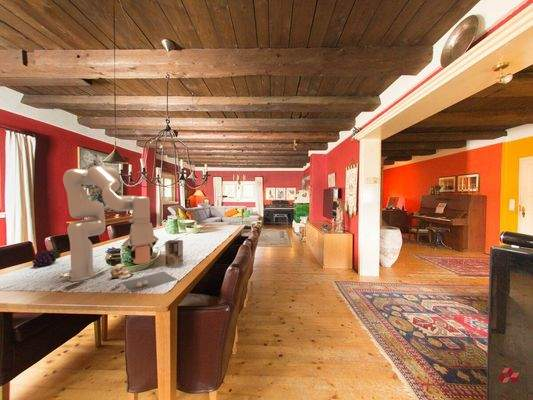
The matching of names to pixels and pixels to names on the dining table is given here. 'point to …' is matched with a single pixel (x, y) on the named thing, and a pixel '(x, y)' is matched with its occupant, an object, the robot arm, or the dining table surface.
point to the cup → (142, 254)
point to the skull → (120, 272)
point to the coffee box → (174, 253)
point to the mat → (152, 281)
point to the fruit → (46, 258)
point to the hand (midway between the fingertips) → (141, 256)
